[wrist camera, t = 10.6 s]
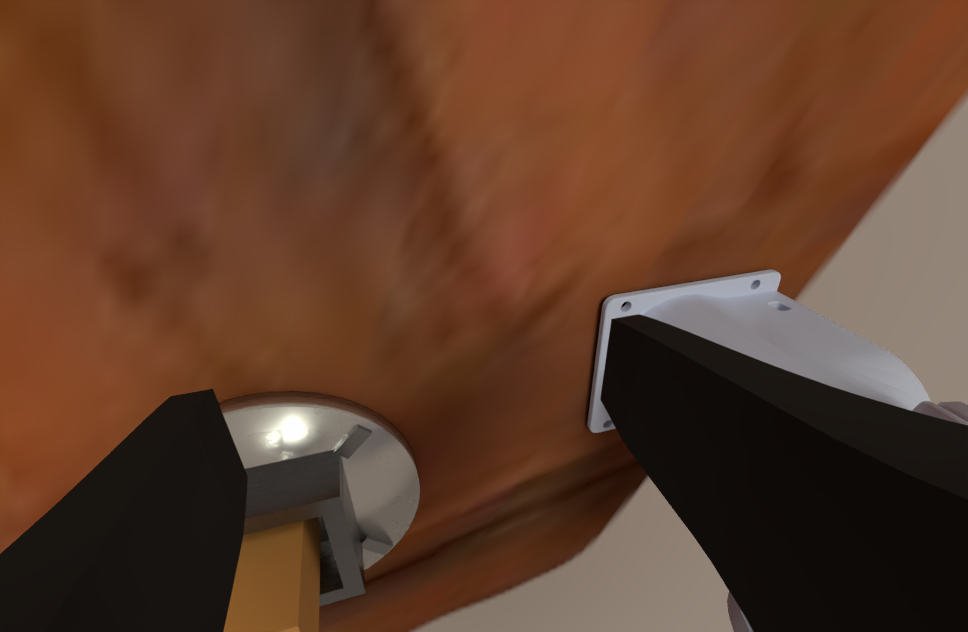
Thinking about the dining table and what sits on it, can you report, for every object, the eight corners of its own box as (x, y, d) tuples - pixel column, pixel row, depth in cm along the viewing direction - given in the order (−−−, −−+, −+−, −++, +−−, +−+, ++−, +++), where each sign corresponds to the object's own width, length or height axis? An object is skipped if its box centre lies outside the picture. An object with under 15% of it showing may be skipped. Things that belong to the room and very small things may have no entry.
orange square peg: (305, 479, 20) (297, 626, 15) (320, 527, 21) (318, 674, 16) (239, 494, 19) (207, 653, 14) (259, 542, 21) (237, 699, 16)
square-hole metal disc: (403, 367, 19) (416, 422, 16) (426, 542, 25) (438, 606, 23) (69, 427, 17) (15, 507, 14) (184, 609, 23) (163, 691, 20)
